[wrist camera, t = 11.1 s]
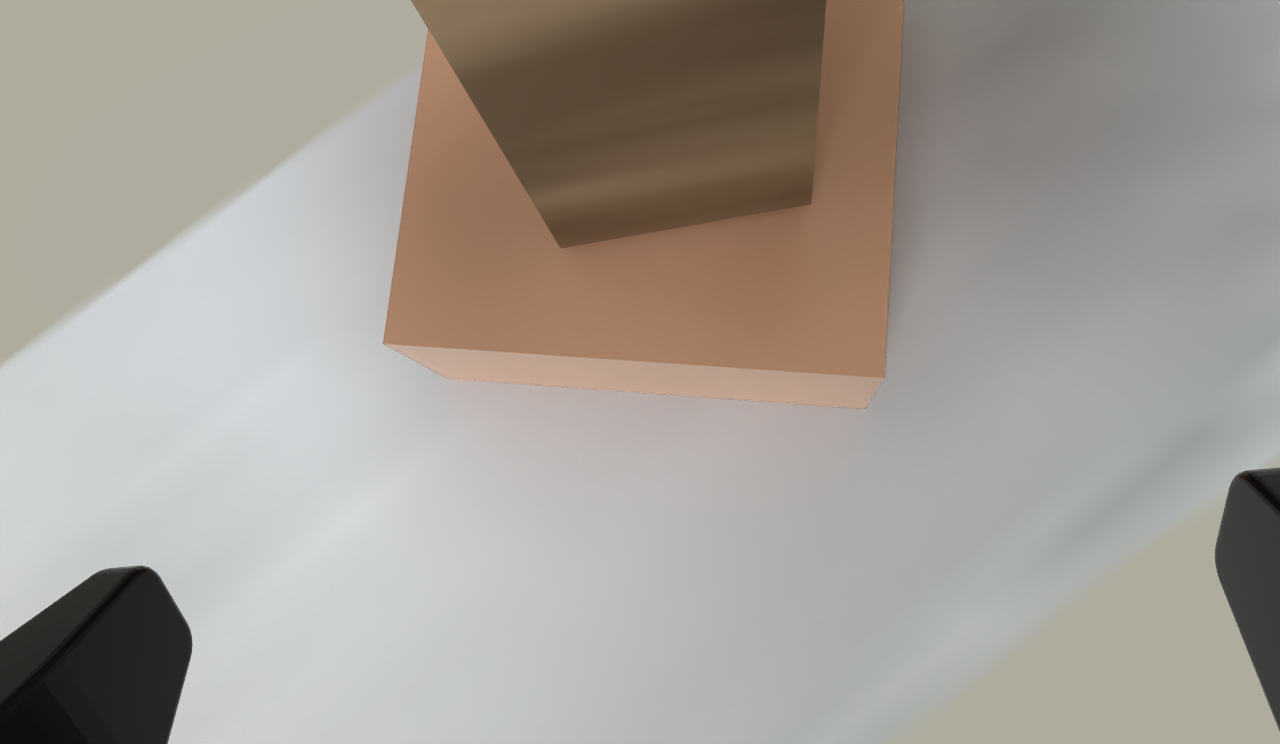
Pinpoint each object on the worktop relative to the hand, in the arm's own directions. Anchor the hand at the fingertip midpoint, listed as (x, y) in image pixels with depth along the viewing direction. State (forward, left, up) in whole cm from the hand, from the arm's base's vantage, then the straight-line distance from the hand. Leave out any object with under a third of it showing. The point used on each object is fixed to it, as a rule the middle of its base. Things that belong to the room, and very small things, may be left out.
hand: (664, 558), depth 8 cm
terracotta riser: (+3, -7, -12) cm, 15 cm away
